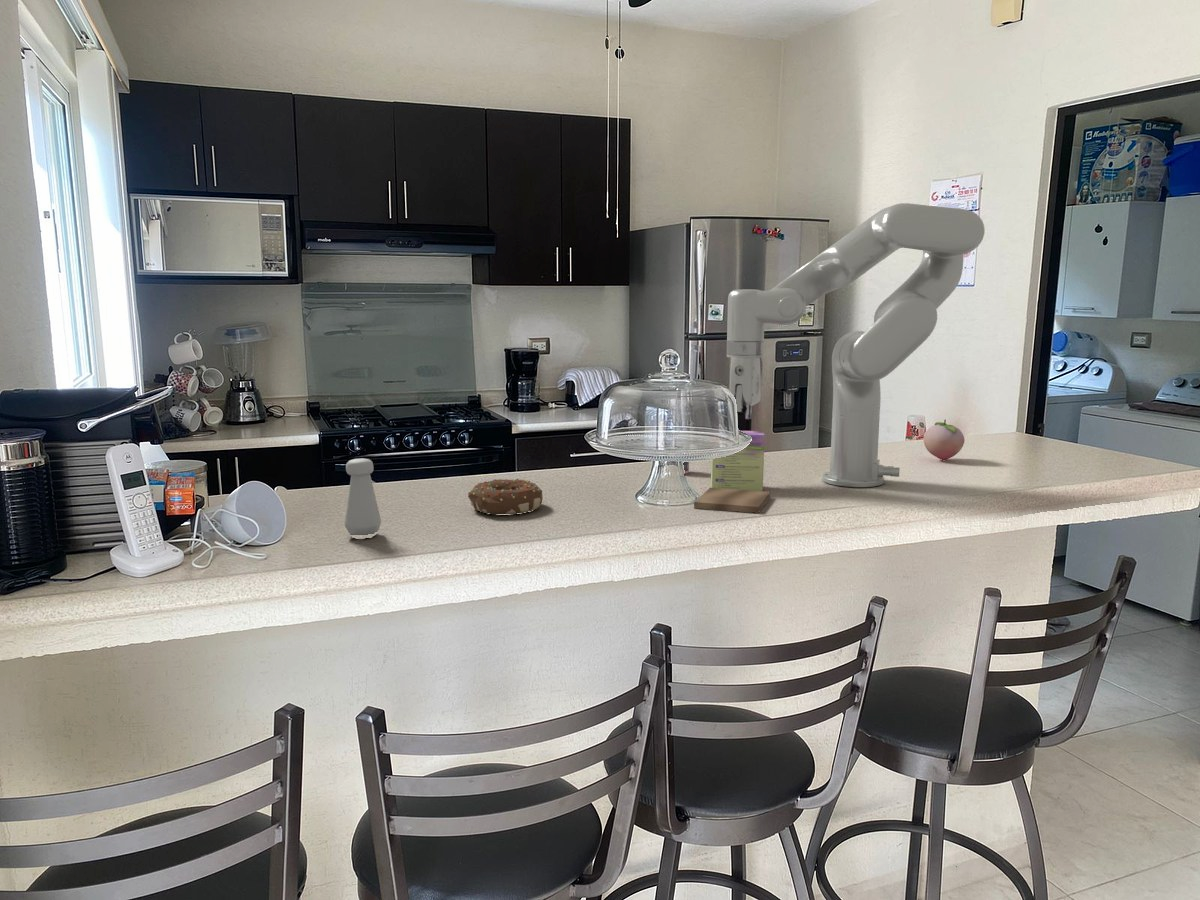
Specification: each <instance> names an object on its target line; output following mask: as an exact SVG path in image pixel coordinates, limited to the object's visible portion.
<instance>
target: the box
mask: <svg viewBox="0 0 1200 900" xmlns="http://www.w3.org/2000/svg"><path fill="white" fill-rule="evenodd" d="M741 432H743V433H746V434H748V435H750V436H751V437H752V441H751V442H750V444H749V445H748V446H747V447H746V448H744V449H743V450H741V451H739V452H737V453H735V454H733V455H729V456H726V457H721V458H715V459H710V461H711V462H710V463H711V465H710V467H711V468H710V486H711V488H722V489H736V490H750V491H764V468H765V467H764V463H765V459H764V458H765V433H764V431H762V430H751V431H741Z"/></svg>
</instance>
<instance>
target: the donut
mask: <svg viewBox="0 0 1200 900" xmlns="http://www.w3.org/2000/svg"><path fill="white" fill-rule="evenodd" d="M467 495H468V496H467V497H468V498H469V499H468V500H469V501H470V504H471V506H472V507H473V509H474V510H475V511H476V512H478V511H480V512H479V513H481V512H484V513H490V514H517V513H524V512H528V511H532V510H535V509H536V510H537V509H538V508H539V507H540V506H541V505H542V503H543V499H544V498H543V497H544V496H543V490H542V489H541V488H540V486H538V485H537V484H536V483H535V482H531V481H530V480H525V479H519V478H516V479H507V478H506V479H500V478H498V479H496V478H495V479H492V480H490V481H489V480H487V481H484V482H477V484H476V485H474V487H473V488H472V489H471V490H470V491H469V492H468V494H467ZM536 510H535V511H536ZM532 512H533V511H532ZM484 513H483V514H484Z"/></svg>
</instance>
